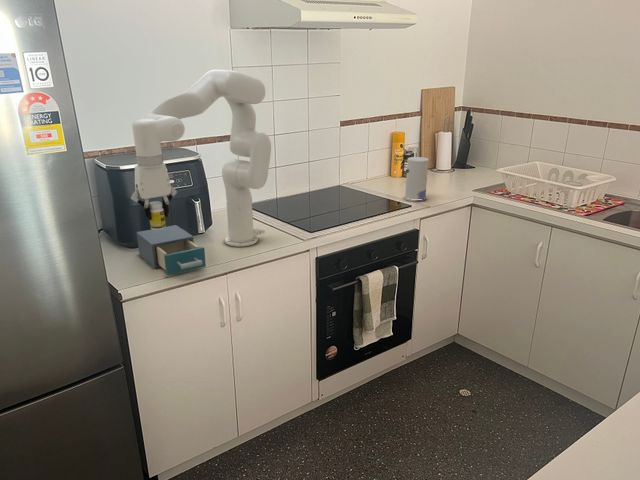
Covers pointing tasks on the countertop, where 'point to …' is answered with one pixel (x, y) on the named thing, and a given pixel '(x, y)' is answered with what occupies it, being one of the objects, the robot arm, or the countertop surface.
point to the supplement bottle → (157, 216)
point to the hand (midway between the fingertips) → (157, 216)
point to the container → (416, 178)
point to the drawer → (180, 257)
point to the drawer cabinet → (159, 241)
